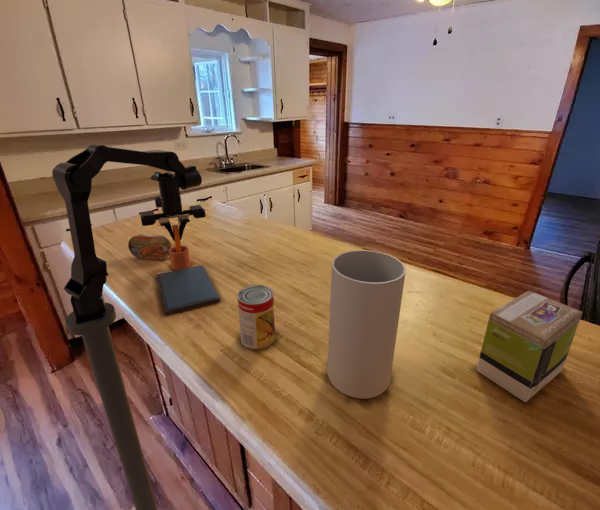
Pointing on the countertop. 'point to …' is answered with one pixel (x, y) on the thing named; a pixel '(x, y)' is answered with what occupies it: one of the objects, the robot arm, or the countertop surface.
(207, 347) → the countertop surface
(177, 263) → the pen cup
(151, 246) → the tin
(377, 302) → the cylinder vase
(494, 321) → the tea box
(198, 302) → the tablet
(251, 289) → the canned food
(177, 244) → the stylus
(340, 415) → the countertop surface
